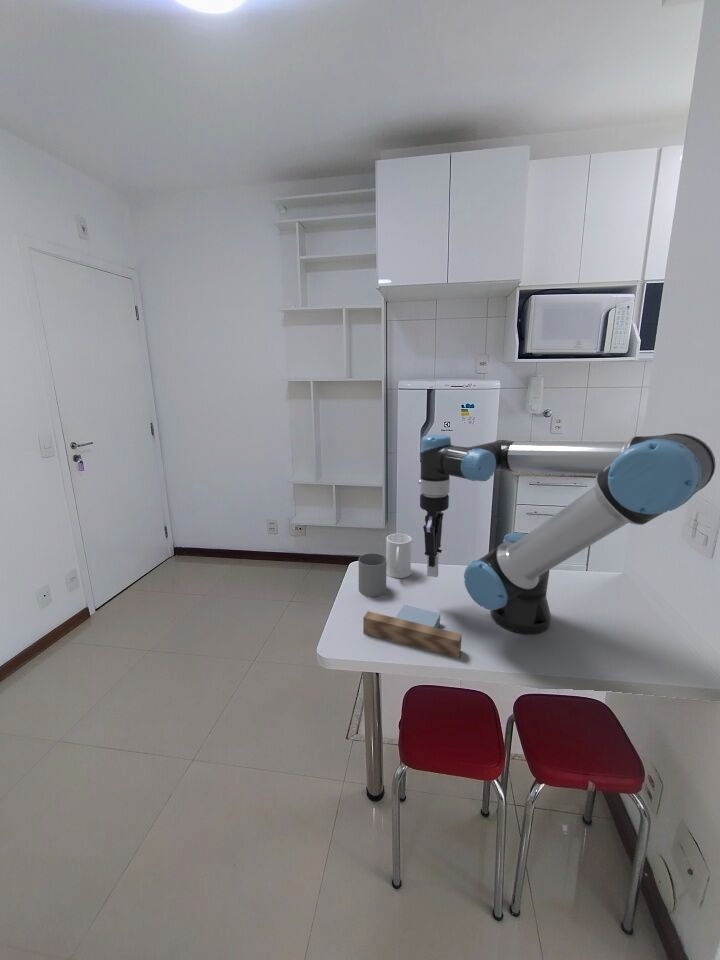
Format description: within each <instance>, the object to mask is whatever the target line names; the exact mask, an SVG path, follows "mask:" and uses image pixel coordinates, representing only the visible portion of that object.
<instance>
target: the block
mask: <svg viewBox="0 0 720 960" xmlns="http://www.w3.org/2000/svg"><path fill="white" fill-rule="evenodd" d="M394 618H398V619H402V620H406V621H411V622H415V623H419V624H423V625H427V626H431V627H435V628H439V626H440V624H441V613H440V612H436V611H432V610H427V609H424V608H420V607H417V606H412V605H408V604H403V606H402V607H401V609H400V610H399V612H398V613H397V615H396V616H395V617H394Z"/></svg>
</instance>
